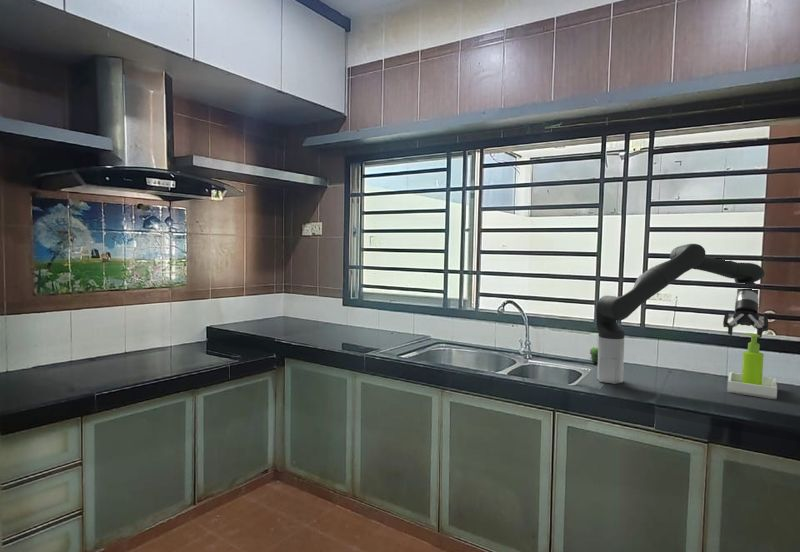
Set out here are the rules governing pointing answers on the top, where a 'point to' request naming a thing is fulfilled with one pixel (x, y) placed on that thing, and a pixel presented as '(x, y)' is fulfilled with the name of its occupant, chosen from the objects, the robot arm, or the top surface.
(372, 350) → the top surface
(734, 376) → the tray
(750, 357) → the soap dispenser
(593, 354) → the vegetable
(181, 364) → the top surface
